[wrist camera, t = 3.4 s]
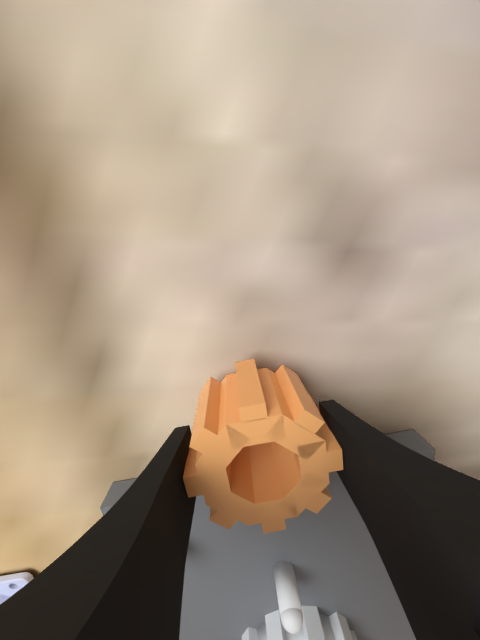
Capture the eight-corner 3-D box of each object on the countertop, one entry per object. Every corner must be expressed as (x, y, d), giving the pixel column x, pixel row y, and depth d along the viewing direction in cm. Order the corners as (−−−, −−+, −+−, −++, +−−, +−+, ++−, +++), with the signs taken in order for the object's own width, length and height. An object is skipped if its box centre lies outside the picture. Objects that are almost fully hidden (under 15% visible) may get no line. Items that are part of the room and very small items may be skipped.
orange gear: (208, 468, 13) (202, 544, 9) (184, 371, 11) (165, 420, 8) (315, 449, 13) (346, 518, 9) (305, 349, 11) (337, 390, 8)
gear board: (186, 667, 19) (174, 778, 15) (112, 482, 14) (66, 574, 10) (409, 627, 19) (458, 729, 15) (414, 429, 14) (488, 500, 10)
